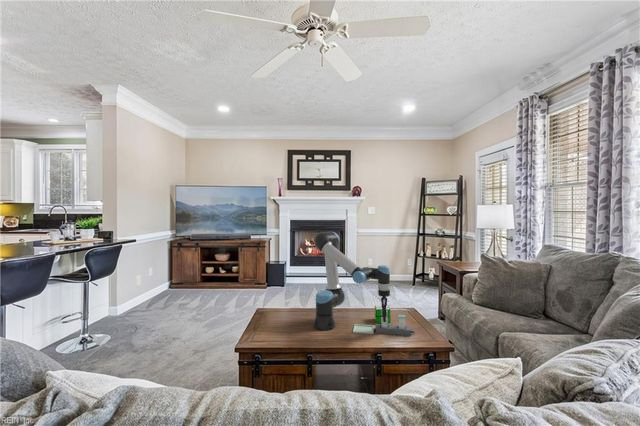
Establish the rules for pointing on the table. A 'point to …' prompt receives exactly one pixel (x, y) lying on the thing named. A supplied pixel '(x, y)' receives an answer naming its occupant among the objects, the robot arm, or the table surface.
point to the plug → (387, 319)
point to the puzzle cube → (378, 313)
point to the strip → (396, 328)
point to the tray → (363, 329)
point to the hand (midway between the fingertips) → (384, 325)
